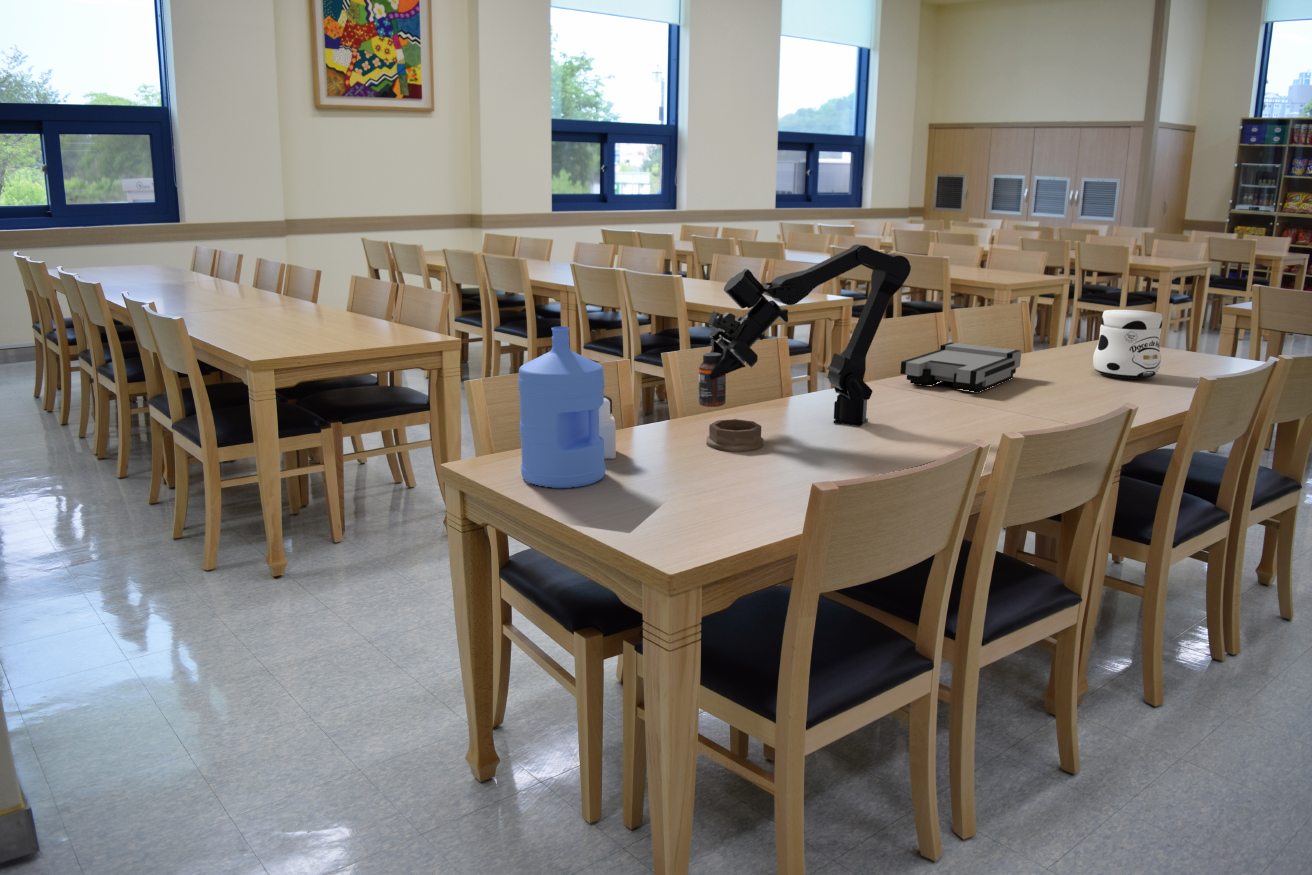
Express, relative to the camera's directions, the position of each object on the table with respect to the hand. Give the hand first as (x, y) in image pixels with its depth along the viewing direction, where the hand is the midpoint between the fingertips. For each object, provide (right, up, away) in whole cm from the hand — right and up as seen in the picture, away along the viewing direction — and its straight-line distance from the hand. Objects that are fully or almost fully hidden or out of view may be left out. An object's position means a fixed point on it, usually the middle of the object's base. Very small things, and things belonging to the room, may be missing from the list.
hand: (706, 375), depth 212 cm
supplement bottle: (+1, -7, +2) cm, 7 cm away
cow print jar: (+123, +4, +65) cm, 139 cm away
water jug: (-28, -21, -30) cm, 46 cm away
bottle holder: (+6, -15, -7) cm, 17 cm away
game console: (+73, +1, +56) cm, 92 cm away
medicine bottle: (-23, -17, -16) cm, 33 cm away
